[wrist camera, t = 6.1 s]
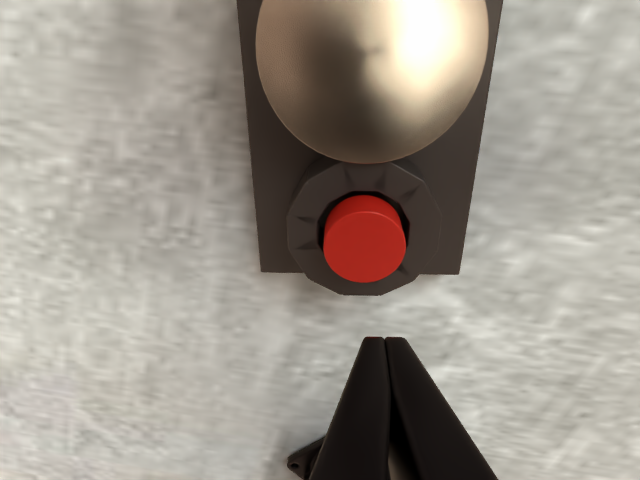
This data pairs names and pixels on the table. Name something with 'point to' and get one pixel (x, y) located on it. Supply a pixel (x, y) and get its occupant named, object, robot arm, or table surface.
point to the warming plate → (370, 71)
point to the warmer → (359, 183)
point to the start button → (363, 239)
